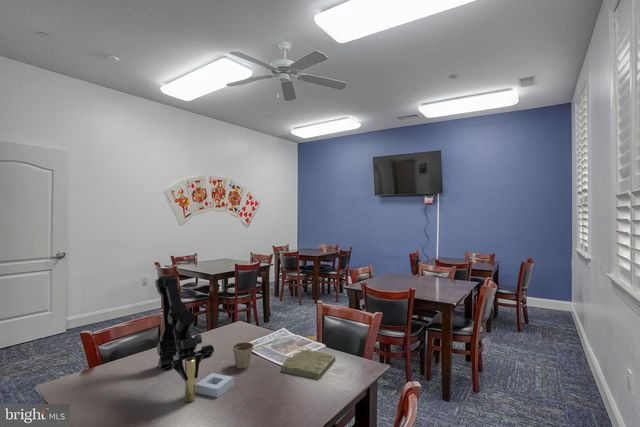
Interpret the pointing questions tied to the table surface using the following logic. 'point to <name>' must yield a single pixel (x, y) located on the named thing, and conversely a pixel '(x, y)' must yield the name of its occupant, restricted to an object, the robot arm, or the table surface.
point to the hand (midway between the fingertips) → (191, 379)
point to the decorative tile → (308, 364)
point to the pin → (190, 379)
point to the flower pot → (242, 354)
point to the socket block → (214, 385)
